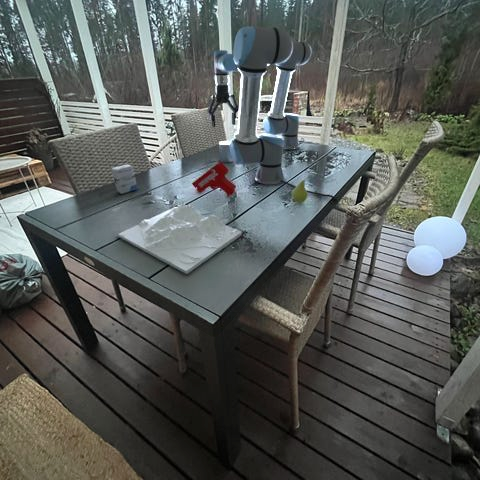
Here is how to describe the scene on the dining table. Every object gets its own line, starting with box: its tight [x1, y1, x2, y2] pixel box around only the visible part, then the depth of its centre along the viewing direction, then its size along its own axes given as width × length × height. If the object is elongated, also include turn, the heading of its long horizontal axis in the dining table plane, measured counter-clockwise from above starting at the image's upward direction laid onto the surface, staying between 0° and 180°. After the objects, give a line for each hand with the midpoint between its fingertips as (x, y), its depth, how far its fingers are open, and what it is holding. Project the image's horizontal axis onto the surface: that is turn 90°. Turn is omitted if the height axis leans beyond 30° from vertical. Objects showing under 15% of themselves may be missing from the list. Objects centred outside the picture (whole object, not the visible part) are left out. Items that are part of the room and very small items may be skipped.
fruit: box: [291, 174, 311, 204], centre depth 118 cm, size 7×8×12 cm
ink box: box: [110, 164, 138, 195], centre depth 131 cm, size 8×5×12 cm, turn 135°
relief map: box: [117, 202, 243, 275], centre depth 96 cm, size 27×35×5 cm
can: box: [218, 140, 234, 164], centre depth 173 cm, size 9×9×11 cm
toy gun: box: [191, 160, 237, 197], centre depth 128 cm, size 18×4×15 cm
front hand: (223, 125), depth 161 cm, fingers open, 13 cm apart
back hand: (250, 92), depth 207 cm, fingers open, 13 cm apart
